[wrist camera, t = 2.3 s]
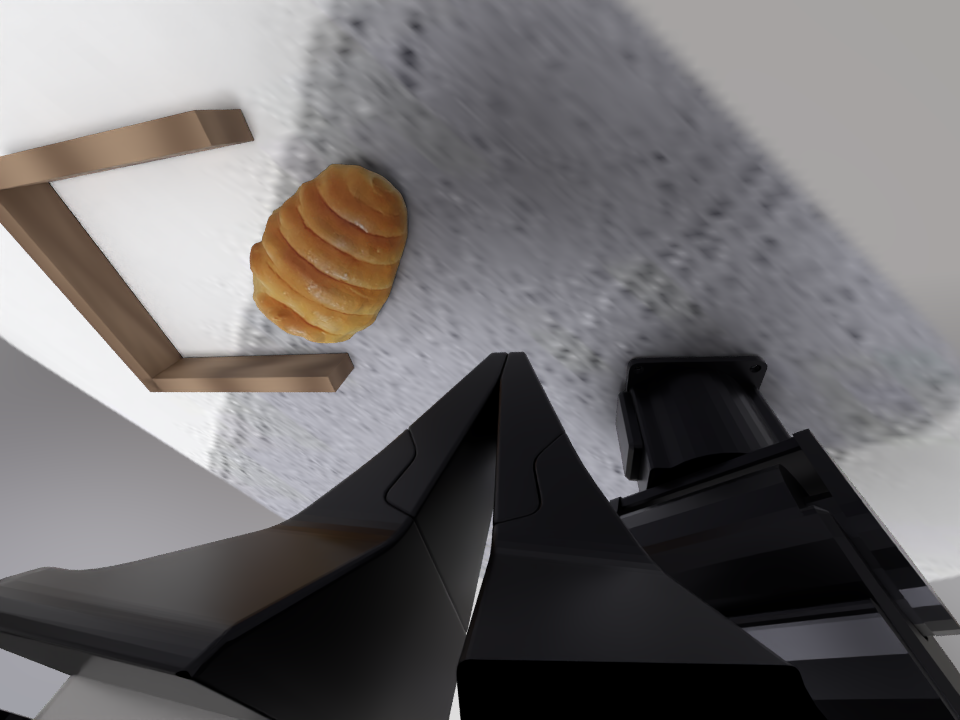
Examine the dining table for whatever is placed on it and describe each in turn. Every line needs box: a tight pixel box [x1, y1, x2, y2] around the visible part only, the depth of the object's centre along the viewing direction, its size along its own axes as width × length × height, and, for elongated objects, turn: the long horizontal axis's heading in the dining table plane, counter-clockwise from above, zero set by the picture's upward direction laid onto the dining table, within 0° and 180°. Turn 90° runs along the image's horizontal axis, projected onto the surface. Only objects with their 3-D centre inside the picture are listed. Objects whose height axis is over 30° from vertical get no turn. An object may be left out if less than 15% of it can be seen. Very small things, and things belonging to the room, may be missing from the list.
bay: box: [0, 109, 354, 392], centre depth 21 cm, size 15×14×2 cm
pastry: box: [250, 164, 407, 343], centre depth 18 cm, size 9×7×4 cm
